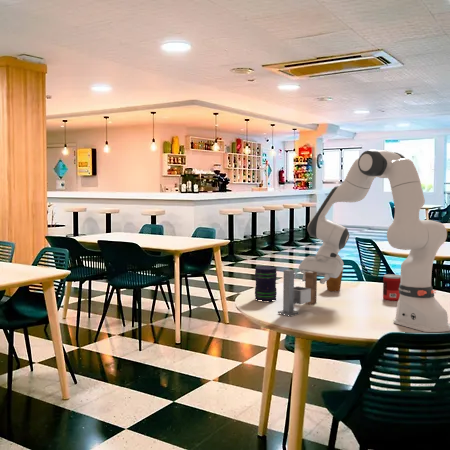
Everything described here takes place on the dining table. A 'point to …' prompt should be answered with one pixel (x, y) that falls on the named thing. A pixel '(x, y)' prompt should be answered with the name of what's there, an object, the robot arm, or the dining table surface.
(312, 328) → the dining table surface
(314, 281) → the rail
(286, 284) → the bracket
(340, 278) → the disposable coffee cup
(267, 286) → the rusty blue barrel
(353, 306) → the dining table surface
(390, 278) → the canned food
